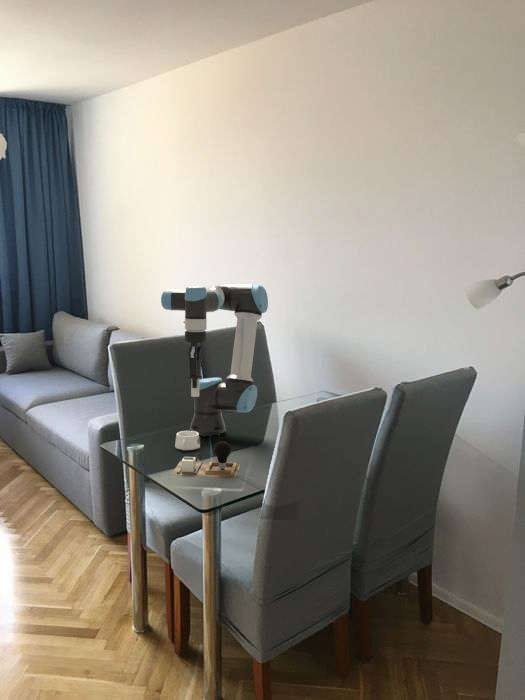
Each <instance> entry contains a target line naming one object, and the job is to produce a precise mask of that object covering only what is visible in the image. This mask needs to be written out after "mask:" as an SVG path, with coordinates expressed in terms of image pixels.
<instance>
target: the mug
mask: <svg viewBox="0 0 525 700" xmlns="http://www.w3.org/2000/svg"><path fill="white" fill-rule="evenodd" d="M175 435H176V436H175V442H174V443H175V444H174V447H175V449H177V450H181V451H193V450H198V449H201V442H200V436H199V433H198V432H195V431H190V430H181V431H178V432H177V433H176V434H175Z"/></svg>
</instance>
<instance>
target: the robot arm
mask: <svg viewBox="0 0 525 700" xmlns="http://www.w3.org/2000/svg"><path fill="white" fill-rule="evenodd" d="M160 303H161V307H162V308H163V309H165V310H166V311H167V310H169V311H180V312H181V311H184V320H183V321H182V323H183V324H184V329H185V331H184V341H185V342H186V343H190V346H189V347H188V359H189V361H188V362H189V377H188V379H189V380H190V396H191V397H192V398H193V409H194V410H193V411H194V414H193V417H192V420H191V423H190V426H189V431H190V430H191V431H195V432H198V433H199V435H204V436H203V437H206V436H209V437H213V436H212V435H218V434H221V433H223V432H224V431H225V432H226V425H225V421H224V418H223V416H222V415H223V413H222V411H229V412H237V413H249V412H250V411H252V409H253V408H254V407H255V405H256V402H257V399H258V387H257V385H255V384H254V380H253V378H252V370H253V359H254V353H255V352H254V351H255V343H256V335H257V327H258V321H259V320H260V319H262V315H263V314H265V313H266V312H267V310H268V307H269V299H268V294H267V291H266V289H265V286H264V287H263V285H261V284H253V283H252V284H249V283H248V284H247V283H246V284H245V283H244V284H243V283H242V284H237V283H226V284H220V285H213V286H210V287H208V288H206V286H186V287H185V289H166V290H164V291H163V292H162V294H161V297H160ZM218 310H223V311H230V312H234V313H233V314H234V316H235V318H236V319H237V320H236V327H235V333H234V334H235V336H234V342H233V351H232V359H231V365H230V366H231V367H230V374H229V375H228V376H226V378H225V381H223V379H222V378H221V377H207V378H202V377H203V375H201V374H202V372H201V370H202V365H201V364H202V352H203V347H202V346H201V343H205V342H206V341H207V332H206V331H207V329H208V328H207V313H210V312H211V313H213V312H216V311H218ZM201 378H202V379H201ZM218 436H219V435H218Z"/></svg>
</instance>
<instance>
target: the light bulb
mask: <svg viewBox="0 0 525 700" xmlns="http://www.w3.org/2000/svg"><path fill="white" fill-rule="evenodd" d="M213 452H214V455H215V457H217V462H219V468H220V469H222V470H223V469H224V468H226V462H228V457H229V456H230V454H231V453H232V448H231V444H229V443H228V442H227V441H225V440H224V441H223V440H222V441H218V442H217V443H215V444H214V449H213Z"/></svg>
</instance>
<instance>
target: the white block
mask: <svg viewBox="0 0 525 700" xmlns="http://www.w3.org/2000/svg"><path fill="white" fill-rule="evenodd" d="M196 459H197V457H195V456H183V457H182V459H181V461H182V472H194V470H195V469H196V462H197V461H196Z"/></svg>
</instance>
